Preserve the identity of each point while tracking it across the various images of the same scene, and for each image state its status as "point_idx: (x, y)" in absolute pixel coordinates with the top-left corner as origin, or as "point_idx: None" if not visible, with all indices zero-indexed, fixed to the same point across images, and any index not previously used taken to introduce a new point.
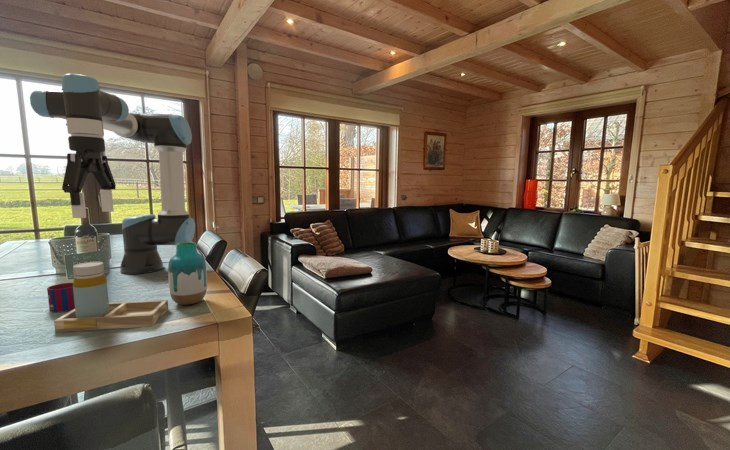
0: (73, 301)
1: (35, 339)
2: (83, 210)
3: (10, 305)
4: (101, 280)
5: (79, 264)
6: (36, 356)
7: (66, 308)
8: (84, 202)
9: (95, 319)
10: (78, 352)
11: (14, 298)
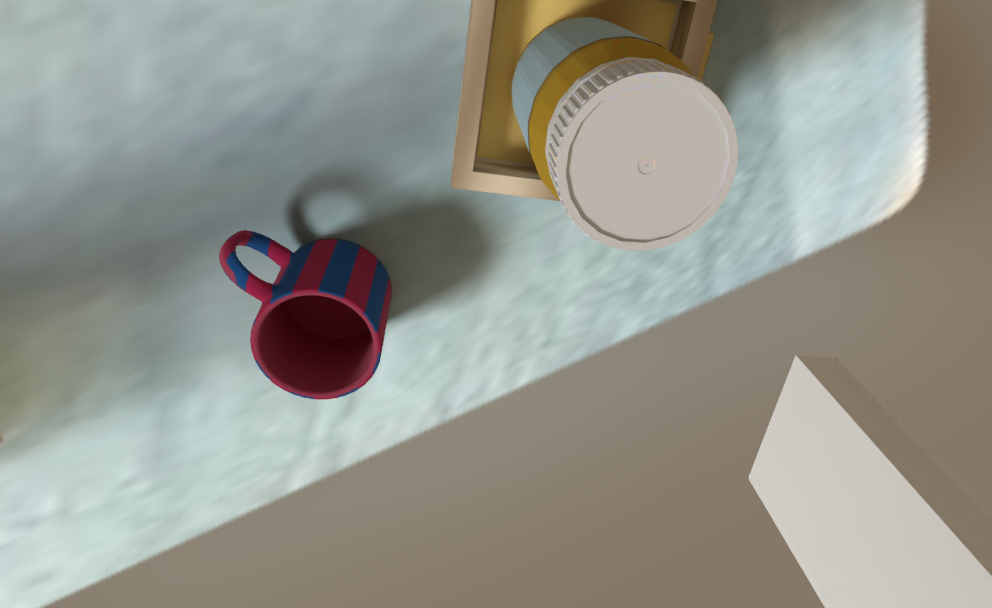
0: (354, 260)
1: (695, 232)
2: (901, 435)
3: (260, 495)
4: (665, 52)
5: (609, 231)
6: (870, 154)
7: (381, 269)
8: (959, 533)
9: (711, 34)
10: (919, 9)
11: (166, 526)
